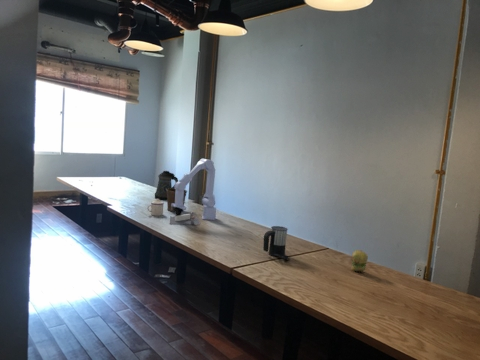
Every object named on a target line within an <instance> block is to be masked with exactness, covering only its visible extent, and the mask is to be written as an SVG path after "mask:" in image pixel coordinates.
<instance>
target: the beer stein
mask: <svg viewBox="0 0 480 360" xmlns="http://www.w3.org/2000/svg"><path fill="white" fill-rule="evenodd" d="M172 181H175V183H174V185H175V184H176V182H179V179H178V177H177V176H175V174H174V173H172V172H170V170H163V171H162V172H161V173H160V174H159V175H158V182H157V188H156V189H155V193H154V199H155V200H156V199H159V200H160V201H167V191H166V189H175V187H174V185H173V186H172Z"/></svg>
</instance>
